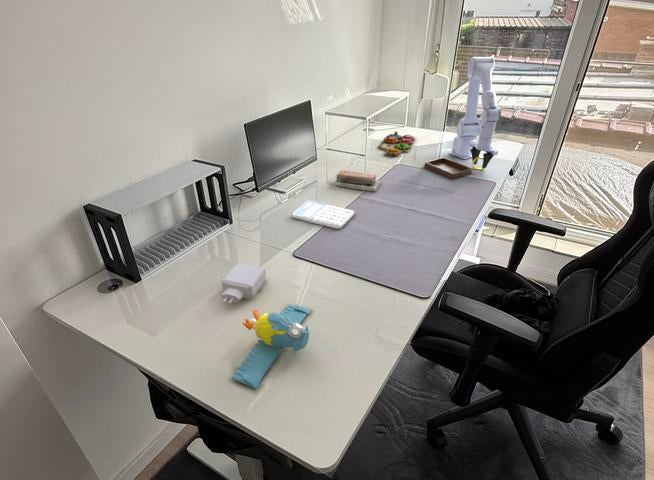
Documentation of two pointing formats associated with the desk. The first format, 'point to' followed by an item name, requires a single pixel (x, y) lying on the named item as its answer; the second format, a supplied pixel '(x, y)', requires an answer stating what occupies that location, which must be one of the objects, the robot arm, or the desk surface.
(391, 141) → the gear puzzle
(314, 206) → the calculator
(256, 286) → the charger
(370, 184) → the packaged product
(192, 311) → the desk surface
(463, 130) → the robot arm
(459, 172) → the tray
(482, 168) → the watch
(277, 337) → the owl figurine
